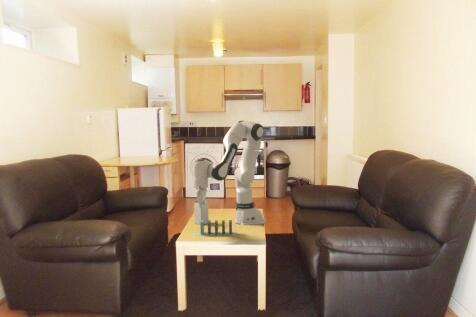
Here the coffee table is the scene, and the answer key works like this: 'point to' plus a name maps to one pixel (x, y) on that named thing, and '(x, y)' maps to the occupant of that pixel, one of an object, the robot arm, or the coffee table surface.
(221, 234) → the runner mat
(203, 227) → the domino
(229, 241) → the coffee table surface
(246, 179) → the robot arm
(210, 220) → the domino
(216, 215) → the coffee table surface
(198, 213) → the milk carton
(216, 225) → the domino
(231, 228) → the domino
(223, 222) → the domino
